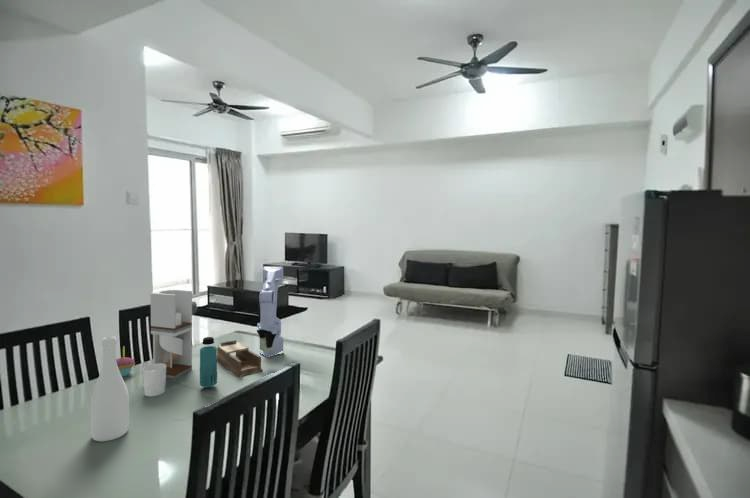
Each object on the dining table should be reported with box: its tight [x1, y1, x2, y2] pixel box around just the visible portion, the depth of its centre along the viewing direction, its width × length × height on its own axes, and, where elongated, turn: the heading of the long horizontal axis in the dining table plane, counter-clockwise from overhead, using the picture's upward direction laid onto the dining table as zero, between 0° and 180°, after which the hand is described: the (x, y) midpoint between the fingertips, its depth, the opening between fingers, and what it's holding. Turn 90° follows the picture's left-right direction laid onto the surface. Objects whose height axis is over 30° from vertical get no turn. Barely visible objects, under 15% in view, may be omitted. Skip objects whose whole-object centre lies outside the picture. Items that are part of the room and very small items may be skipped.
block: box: [259, 337, 274, 352], centre depth 177 cm, size 4×4×5 cm
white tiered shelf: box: [150, 288, 193, 380], centre depth 167 cm, size 11×11×35 cm
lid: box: [217, 339, 250, 354], centre depth 181 cm, size 10×11×2 cm
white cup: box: [142, 363, 167, 397], centre depth 148 cm, size 8×8×10 cm
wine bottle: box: [90, 335, 130, 442], centre depth 118 cm, size 10×10×30 cm
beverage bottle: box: [199, 336, 218, 388], centre depth 153 cm, size 6×7×20 cm
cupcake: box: [116, 346, 136, 377], centre depth 164 cm, size 9×8×12 cm
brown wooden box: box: [216, 347, 264, 378], centre depth 178 cm, size 11×24×6 cm, turn 44°
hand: (266, 346), depth 178 cm, fingers closed on block, 4 cm apart
